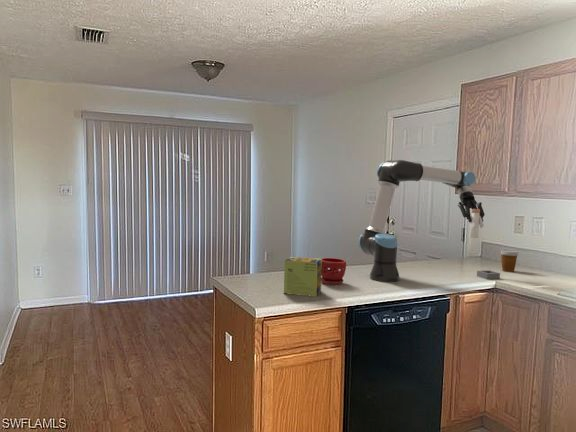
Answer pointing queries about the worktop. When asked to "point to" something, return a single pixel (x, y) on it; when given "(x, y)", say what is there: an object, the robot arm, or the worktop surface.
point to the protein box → (302, 276)
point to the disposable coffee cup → (508, 260)
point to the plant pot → (332, 271)
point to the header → (488, 274)
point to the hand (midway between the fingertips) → (478, 226)
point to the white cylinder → (476, 219)
